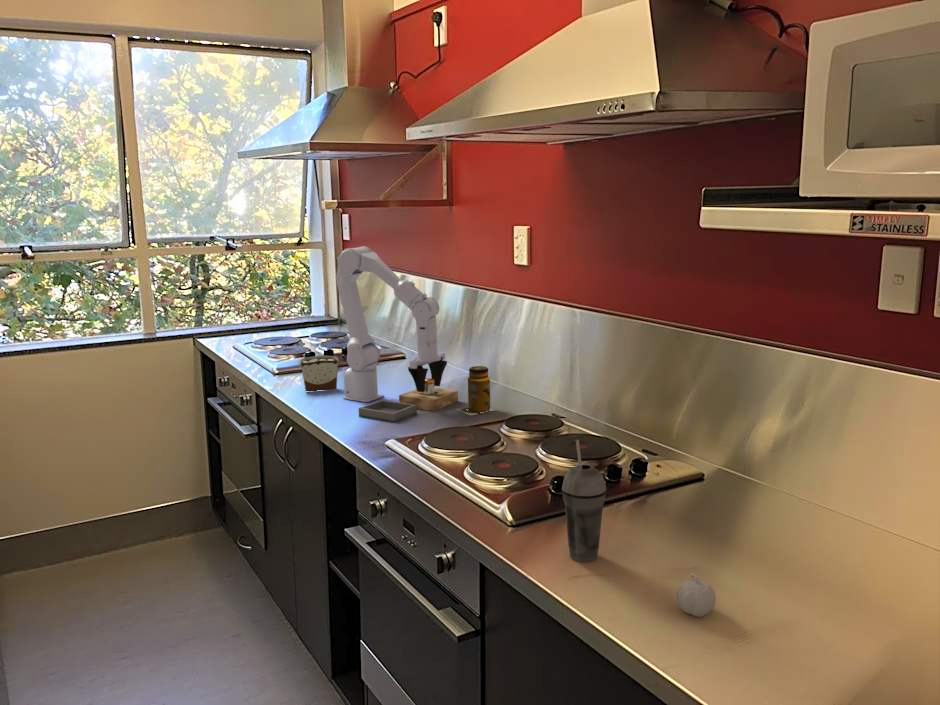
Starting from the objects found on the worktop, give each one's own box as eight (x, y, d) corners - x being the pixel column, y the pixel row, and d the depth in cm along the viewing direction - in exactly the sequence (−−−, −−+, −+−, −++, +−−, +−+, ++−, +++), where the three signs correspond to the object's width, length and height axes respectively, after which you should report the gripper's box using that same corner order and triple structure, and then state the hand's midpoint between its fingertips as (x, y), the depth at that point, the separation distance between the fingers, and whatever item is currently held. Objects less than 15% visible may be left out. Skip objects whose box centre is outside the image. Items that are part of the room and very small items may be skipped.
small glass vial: (420, 404, 229) (419, 380, 228) (427, 401, 232) (426, 377, 230) (430, 405, 227) (429, 381, 226) (437, 402, 230) (436, 378, 229)
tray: (358, 416, 218) (358, 408, 217) (382, 407, 226) (381, 399, 226) (394, 422, 211) (393, 413, 211) (416, 413, 220) (416, 405, 219)
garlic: (676, 599, 118) (677, 566, 117) (715, 603, 116) (716, 570, 115) (674, 619, 112) (675, 585, 111) (715, 624, 111) (716, 589, 110)
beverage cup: (613, 562, 130) (615, 443, 126) (572, 569, 128) (572, 448, 124) (594, 544, 137) (595, 430, 133) (554, 550, 135) (554, 435, 131)
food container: (338, 385, 254) (336, 354, 252) (341, 389, 248) (339, 357, 246) (298, 388, 250) (296, 357, 248) (301, 393, 244) (298, 361, 242)
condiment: (496, 411, 220) (496, 368, 218) (471, 416, 216) (469, 372, 213) (481, 405, 226) (480, 363, 224) (456, 410, 222) (455, 368, 219)
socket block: (399, 405, 228) (398, 395, 227) (424, 396, 238) (423, 386, 237) (434, 411, 221) (433, 400, 221) (458, 401, 231) (457, 390, 231)
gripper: (423, 347, 218) (425, 395, 220) (453, 338, 230) (454, 384, 232) (402, 345, 222) (404, 393, 224) (433, 336, 233) (434, 382, 236)
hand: (428, 388), depth 229 cm, fingers open, 7 cm apart
